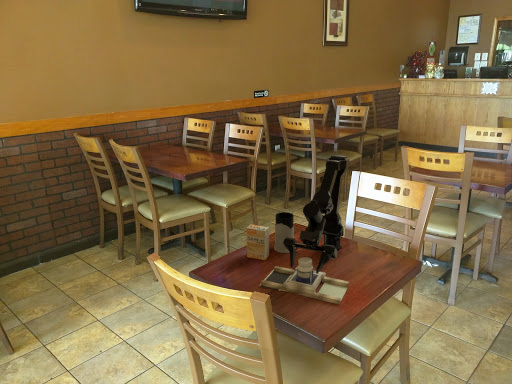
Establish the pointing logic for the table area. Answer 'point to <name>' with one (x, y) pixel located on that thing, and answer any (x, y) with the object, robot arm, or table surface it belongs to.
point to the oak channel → (305, 289)
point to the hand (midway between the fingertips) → (303, 270)
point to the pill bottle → (305, 271)
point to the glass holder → (283, 230)
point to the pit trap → (277, 278)
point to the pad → (333, 290)
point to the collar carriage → (293, 280)
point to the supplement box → (257, 242)
